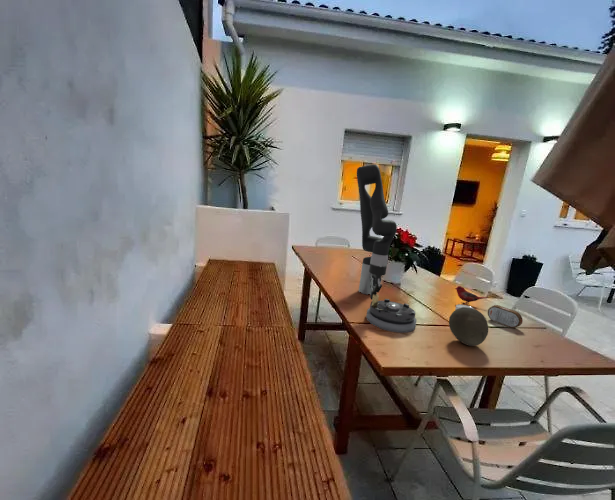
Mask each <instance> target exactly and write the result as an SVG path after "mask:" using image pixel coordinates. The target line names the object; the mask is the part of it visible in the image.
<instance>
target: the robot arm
mask: <svg viewBox="0 0 615 500" xmlns="http://www.w3.org/2000/svg"><path fill="white" fill-rule="evenodd" d="M356 179H357V181H356V182H357V188H358V194H359V209H360V210H359V211H360V220H361V232H362V233H361V247H362V249H363V251H365V252H369V253H372V254H371V256H365V257H363V258H362V263H361V264H362V265H361V271H360V279H359V285H358V292H359V293H360V292H361V293H360V294H363V295H368V294H370V297H369V298H370V300H371V301H372V298H373V294H377V295H378V293H380V290H381V289H382V287H383V284H382V276H385V275H386V273H387V266H388V261H389V251H390V246H391V244H392V242H393V241H394V238H395V236H396V233H397V230H398V228H397V226H398V225H397V223H396V221H394V219H393V220H392V219H386V218H387V217H388V215H389V210H388V207H387V203H386V199H385V194H384V188H383V187H384V185H383V180H382V175H381V170H380V167H379V165H378V164H375V163H374V164H373V163H372V164H368V165H361V166H359V167H357V168H356ZM373 184H375V187H374V191H373V192H372V195H370V194H369V193H368V191H367V189H366V186H368V185H373ZM371 229H372V232H373V234H374V235H377V236H374V235H371V234H370V233H371V232H370V231H371ZM378 236H382V237H378Z"/></svg>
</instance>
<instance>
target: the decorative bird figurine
mask: <svg viewBox="0 0 615 500" xmlns="http://www.w3.org/2000/svg"><path fill="white" fill-rule="evenodd" d="M454 289H455V290H456V294H457V296H458V297H459V299H460V300H462V301H463V302H461V301H460V303H461V304H462V305H470V303H471V302H476V301H478V300H482V299H483V300H484V299H489V297H487V296H478V295H476V294H474V293H473V292H470V291H467V290H466V289H465V288H464V287H463V286H461V285H459V286H458V285H457V287H456V288H454Z"/></svg>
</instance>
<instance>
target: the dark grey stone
mask: <svg viewBox="0 0 615 500" xmlns="http://www.w3.org/2000/svg"><path fill="white" fill-rule="evenodd" d="M455 309H456V308H455ZM455 309H454V310H453V312H452V313H451V314H450V315H449V318H448V325H449V326H448V327H449V330H450V331H451V333H452V335H453V336H454V337H455V339H457V340H458V341H460V342H461V343H462V344H464V345H467V346H470V347H475V346H478V345H481V344H482V343H483V342H484V341H485V340H486V339H487V337H488V334H489V323H488V320H487V318H486V317H485V315H484V314H483V313H482V312H481V311H479V310H478V309H475V308H474V309H473V307H472V308H466V307H462V308H459V309H456V310H455Z"/></svg>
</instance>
